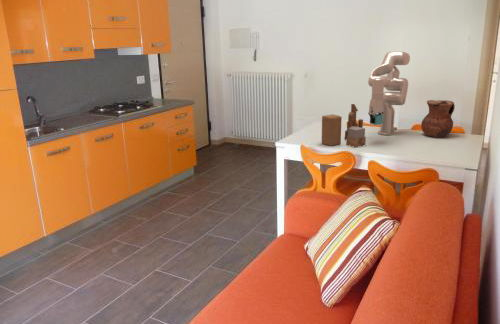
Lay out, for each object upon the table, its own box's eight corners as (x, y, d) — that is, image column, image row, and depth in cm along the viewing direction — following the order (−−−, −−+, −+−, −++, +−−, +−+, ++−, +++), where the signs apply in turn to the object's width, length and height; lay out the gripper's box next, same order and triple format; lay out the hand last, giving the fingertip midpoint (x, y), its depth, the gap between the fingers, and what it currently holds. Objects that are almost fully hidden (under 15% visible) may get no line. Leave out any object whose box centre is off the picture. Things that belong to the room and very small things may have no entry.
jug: (443, 140, 285) (447, 104, 278) (415, 135, 300) (418, 102, 293) (457, 134, 299) (461, 100, 291) (429, 130, 314) (432, 98, 307)
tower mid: (356, 134, 285) (356, 126, 283) (364, 137, 278) (365, 128, 277) (347, 136, 281) (348, 128, 279) (356, 138, 274) (356, 130, 273)
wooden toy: (353, 140, 294) (354, 106, 286) (344, 139, 298) (345, 105, 290) (362, 136, 304) (364, 102, 297) (354, 135, 309) (356, 102, 301)
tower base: (355, 142, 287) (356, 134, 285) (365, 145, 280) (365, 137, 278) (346, 145, 283) (346, 136, 281) (355, 147, 275) (356, 139, 274)
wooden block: (329, 146, 280) (330, 117, 274) (321, 143, 289) (321, 115, 283) (341, 144, 284) (342, 116, 279) (332, 141, 293) (332, 114, 287)
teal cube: (375, 122, 285) (376, 113, 283) (382, 123, 280) (382, 115, 278) (369, 123, 282) (370, 115, 280) (376, 125, 277) (376, 116, 275)
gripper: (381, 94, 282) (380, 119, 288) (364, 97, 274) (363, 123, 280) (390, 95, 276) (389, 121, 282) (372, 98, 268) (371, 125, 274)
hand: (376, 122), depth 281 cm, fingers closed on teal cube, 6 cm apart
